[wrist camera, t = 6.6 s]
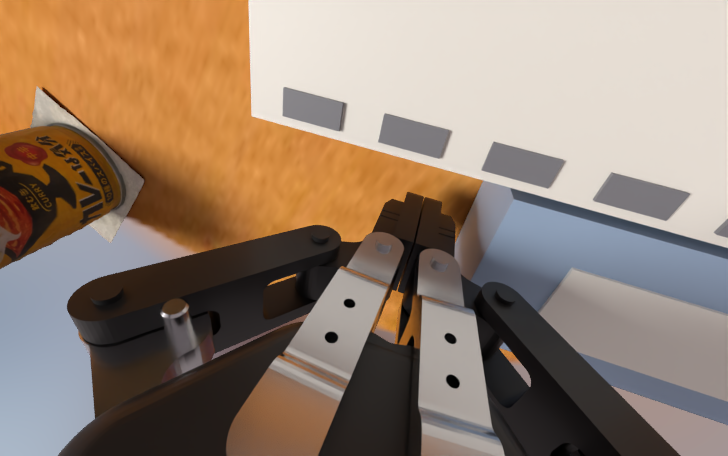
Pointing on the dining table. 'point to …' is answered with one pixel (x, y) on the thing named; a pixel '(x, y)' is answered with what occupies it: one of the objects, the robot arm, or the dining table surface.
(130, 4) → the dining table surface
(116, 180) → the condiment
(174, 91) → the dining table surface
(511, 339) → the robot arm
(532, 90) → the white box
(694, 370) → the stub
